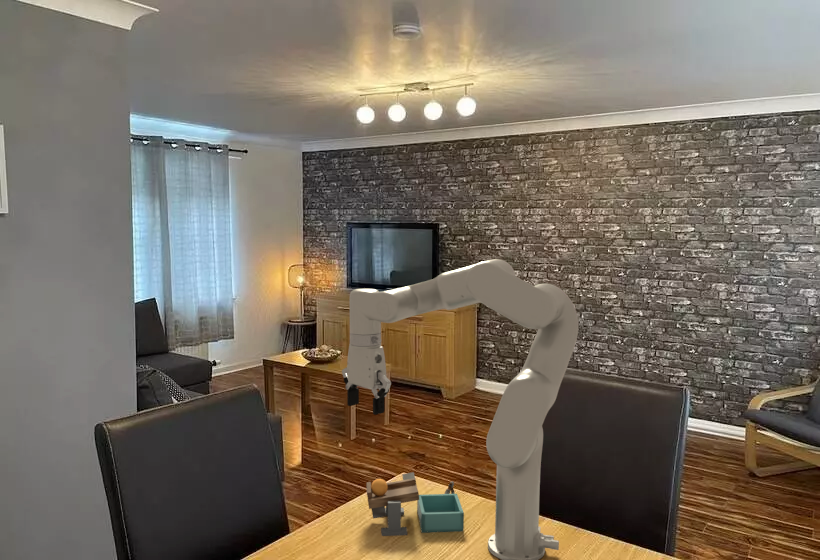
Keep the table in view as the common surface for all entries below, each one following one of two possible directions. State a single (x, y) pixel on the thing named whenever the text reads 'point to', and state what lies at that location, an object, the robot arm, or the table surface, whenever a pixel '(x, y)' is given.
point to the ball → (379, 487)
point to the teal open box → (440, 513)
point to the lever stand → (394, 520)
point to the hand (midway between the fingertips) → (365, 409)
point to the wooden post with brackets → (450, 488)
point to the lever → (393, 494)
